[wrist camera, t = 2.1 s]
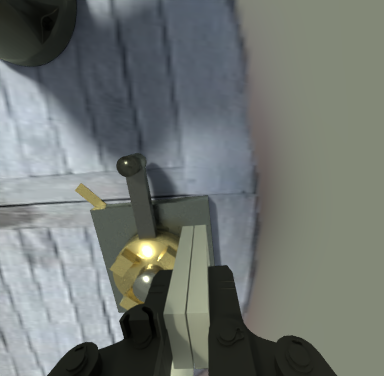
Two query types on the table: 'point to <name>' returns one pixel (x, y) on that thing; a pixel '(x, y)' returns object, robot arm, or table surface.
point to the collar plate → (126, 227)
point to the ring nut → (141, 238)
